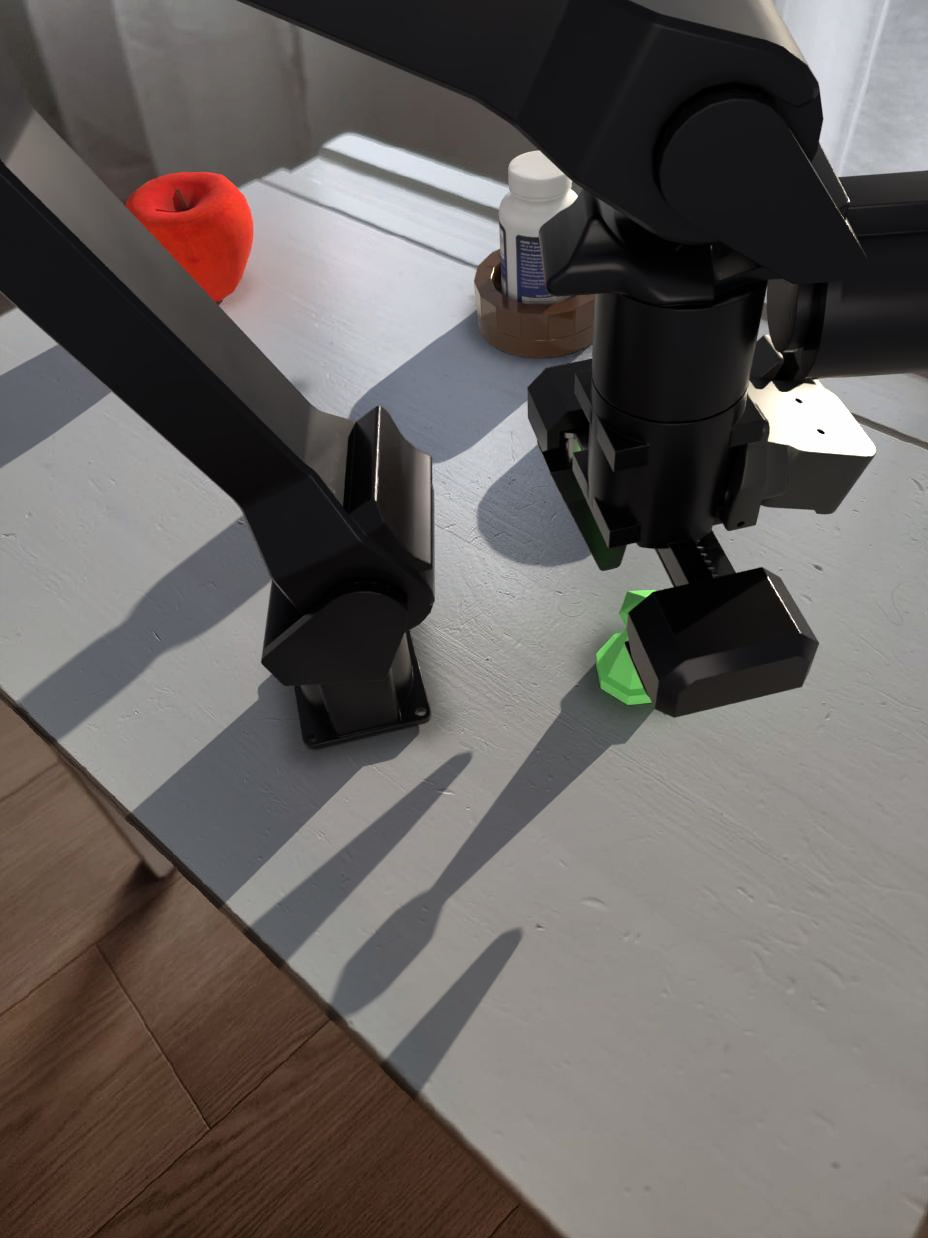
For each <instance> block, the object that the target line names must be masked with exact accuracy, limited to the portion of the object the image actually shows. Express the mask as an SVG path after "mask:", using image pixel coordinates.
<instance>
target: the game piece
mask: <svg viewBox="0 0 928 1238" xmlns="http://www.w3.org/2000/svg"><path fill="white" fill-rule="evenodd" d="M654 591H657V590H656V589H641V590H640V589H639V590H627V591H626V592H625V596H624V598H623V602H622V604H621V607H620V610H619V612H618V615H619V617H620V618H621V620H622V621H623V623H624V625H625V627H624V628H623V630H622V632H617V633H614V634H613V635H612V636H611V637H610V638H609V639H608V640H606V642H605V643H604V645H603V646H601V648H600V649H599V650H598V651H597V652H596V653H595V667H596V671H597V677H598V682H599V688H600V689H601V690H603V691H604V692H606V693H607V694H609V695H610V696H612V697H613V698H616V699H617V700H618V701H620V702H622V703H624V704H625V705H627V706H631V705H632V706H633V705H642V704H650V703H651V704H652V702H651V699H650V698H649V697H648V696H647V694H646V693H645V691H644V689H643V686H642V684H641V682H640V680H639V677H638V675H637V673H636V670H635V668H634V666H633V663H632V661H631V659H630V656H629V654H628V652H627V650H626V647H625V644H624V643H625V641H629V640H628V635H627V630H626V629H627V619H628V612H629V611H630V610H632V609H633V608H634V607H635V606H636V605H638V604H639V603H640V602H641V601H642V600H644V599H645V598H646V597H647V596H648V595H650V594H651V593H652V592H654Z"/></svg>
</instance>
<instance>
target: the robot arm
mask: <svg viewBox="0 0 928 1238" xmlns="http://www.w3.org/2000/svg"><path fill="white" fill-rule="evenodd" d="M235 1H236V2H239V3H241V4H244V5H246V6H247V7H251V8H253V9H256V10H258V11H261V12H262V13H265V14H267V15H270V16H272V17H275V18H277V19H279V20H282V21H284V22H286V23H289V24H291V25H294V26H296V27H297V28H301V29H303V30H305V31H308V32H310V33H312V34H315V35H317V36H320V37H322V38H324V39H327V40H329V41H331V42H334V43H336V44H339V45H341V46H344V47H346V48H348V49H351V50H353V51H355V52H358V53H360V54H363V55H365V56H367V57H370V58H372V59H374V60H377V61H379V62H380V63H381V62H382V63H384V64H387V65H389V66H391V67H394V68H395V69H398V70H401V71H403V72H406V73H408V74H410V75H413V76H415V77H417V78H420V79H422V80H424V81H427V82H430V83H431V84H434V85H436V86H439V87H440V88H444V89H446V90H449V91H451V92H453V93H456V94H457V95H460V96H463V97H465V98H467V99H469V100H472V101H473V102H476V103H477V104H479V105H481V106H482V107H484V108H485V109H486V110H488V111H490V112H492V113H493V114H494V115H496V116H497V117H499V118H501V120H503V121H505V122H506V123H508V124H509V125H511V127H513V128H515V129H516V131H518V132H519V133H520V134H521V135H522V136H523V137H524V138H525V139H526V140H527V141H528V142H530V144H532V145H533V147H535V148H536V149H537V151H540V152H541V153H542V154H544V155H545V156H546V157H547V158H548V159H549V160H550V161H551V162H552V163H553V164H554V165H555V166H556V167H557V168H558V169H560V170H561V171H562V172H563V173H564V174H565V175H566V176H567V177H568V178H569V179H570V180H571V181H572V183H574V184H575V185H576V186H578V187H580V188H581V190H580V192H579V194H578V197H577V199H576V200H575V201H574V202H573V203H572V204H571V205H570V206H569V207H567V208H565V209H563V210H561V211H560V212H558V213H557V214H556V215H555V216H553V217H552V218H551V219H550V220H548V221H547V222H546V223H544V224H543V225H542V226H541V227H540V229H539V242H540V250H541V257H542V265H543V272H544V280H545V287H546V290H547V292H548V293H549V294H550V295H552V296H555V297H562V296H576V295H590V294H595V303H594V327H593V343H592V355H591V358H587V359H583V360H577V361H573V362H568V363H563V364H558V365H552V366H548V367H545V368H544V369H543V370H542V371H541V372H540V373H539V374H538V375H537V377H535V378H534V380H533V381H532V382H531V383H530V384H529V385H528V386H527V387H526V397H527V399H526V400H527V403H526V405H527V419H528V422H529V424H530V426H531V429H532V431H533V433H534V435H535V438H536V444H537V447H538V449H539V452H540V454H541V456H542V459H543V461H544V463H545V466H546V468H547V470H548V472H549V474H550V477H551V478H552V481H553V482H554V485H555V486H556V488H557V490H558V492H559V494H560V496H561V498H562V500H563V502H564V504H565V505H566V508H567V509H568V512H569V513H570V516H571V517H572V519H573V521H574V523H575V525H576V527H577V529H578V531H579V533H580V534H581V535H580V536H581V537H582V539H583V541H584V542H585V545H586V546H587V549H588V550H589V553H590V554H591V556H592V559H593V560H594V563H595V564H596V566H597V568H598V569H599V570H600V572H605V571H610V570H615V569H617V568H619V567H620V566H621V565H622V562H623V559H624V556H625V553H626V550H627V547H628V546H629V545H632V544H636V546H637V547H639V548H642V549H650V550H651V549H652V550H654V551H655V553H656V555H657V557H658V559H659V561H660V563H661V566H662V567H663V569H664V571H665V573H666V575H667V577H668V579H669V582H670V584H671V585H672V586H671V587H667V588H664V589H659V590H656V591H654V592H652V593H651V594H650V595H648V596H647V597H646V598H645V599H644V600H642V601H641V602H640V603H639V604H638V605H636V606H635V607H634V608H633V609H632V610H630V611H629V612H628V619H627V629H626V630H627V635H628V640H629V641H625V643H624V644H625V647H626V650H627V652H628V654H629V656H630V659H631V661H632V663H633V666H634V668H635V670H636V673H637V675H638V677H639V680H640V682H641V684H642V686H643V689H644V691H645V693H646V694H647V696H648V697H649V698H650V699H651V702H652V703H651V704H652V707H653V709H654V710H655V711H658V712H660V713H662V715H663V716H669V717H671V718H674V719H675V718H680V717H684V716H688V715H692V714H696V713H699V712H705V711H708V710H709V711H710V710H713V709H716V708H721V707H726V706H729V705H734V704H738V703H741V702H746V701H750V700H754V699H759V698H762V697H767V696H771V695H775V694H779V693H784V692H788V691H791V690H796V689H800V688H802V687H803V686H804V684H805V682H806V680H807V678H808V675H809V674H810V671H811V668H812V665H813V662H814V660H815V657H816V654H817V651H818V648H819V646H820V642H819V640H818V638H817V636H816V635H815V633H814V632H813V630H812V629H811V627H810V625H809V623H808V622H807V620H806V618H805V616H804V615H803V613H802V611H801V610H800V608H799V606H798V605H797V603H796V601H795V600H794V598H793V596H792V594H791V593H790V591H789V590H788V587H787V586H786V584H785V583H784V581H783V580H782V578H781V577H780V576H779V575H777V574H775V573H773V572H772V571H770V570H768V569H766V568H765V567H763V566H759V567H756V568H750V569H746V570H742V571H738V572H736V570H735V568H734V566H733V565H732V563H731V561H730V560H729V557H728V556H727V554H726V552H725V550H724V549H723V546H722V544H721V543H720V542H719V540H718V538H717V536H716V534H715V532H714V531H713V527H715V526H718V525H723V527H724V529H725V530H726V532H733V531H737V530H741V529H746V528H750V527H754V526H757V524H758V523H757V522H758V518H759V515H760V510H761V507H763V508H772V509H787V510H804V511H813V512H815V513H816V514H817V515H832V514H834V513H835V512H837V509H838V508H839V507H840V505H841V504H842V503H843V501H844V500H845V498H846V497H847V496H848V494H849V493H850V491H851V490H852V489H853V488H854V486H855V485H856V483H857V481H858V480H859V479H860V478H861V476H862V474H863V473H864V472H865V471H866V469H867V468H868V466H870V464H871V462H872V461H873V460H874V458H875V457H876V455H877V452H878V450H877V446H876V444H875V443H874V442H873V440H872V439H871V437H870V436H869V435H868V434H867V432H866V431H865V430H864V428H863V427H862V426H861V425H860V423H859V421H858V420H857V419H856V418H855V417H854V415H853V414H852V413H851V411H850V410H849V409H848V408H847V406H846V405H845V404H844V403H843V401H842V399H840V397H839V396H837V395H836V393H834V392H833V391H832V390H830V389H828V388H826V387H825V386H824V385H823V384H822V383H821V381H820V380H829V379H830V380H831V379H845V378H859V377H871V376H872V377H875V376H890V375H907V374H918V373H928V169H927V170H915V171H914V170H913V171H901V172H888V173H874V174H873V173H872V174H860V175H849V176H838V175H837V173H836V171H835V169H834V167H833V165H832V163H831V161H830V160H829V158H828V155H827V154H826V152H825V150H824V148H823V146H822V144H821V142H820V138H821V134H822V130H823V129H822V128H823V124H824V112H823V111H824V110H823V104H822V97H821V96H822V95H821V89H820V84H819V83H820V82H819V81H818V79H817V77H816V75H815V74H814V72H813V70H812V69H811V67H810V65H809V63H808V61H807V59H806V58H805V55H804V54H803V52H802V51H801V49H800V47H799V45H798V43H797V42H796V40H795V38H794V37H793V35H792V33H791V31H790V30H789V28H788V26H787V24H786V23H785V21H784V19H783V17H782V15H781V13H780V11H779V9H777V7H776V4H775V3H774V1H773V0H235ZM0 294H1V295H2V296H3V297H4V298H6V299H7V300H8V301H9V302H10V303H11V304H12V305H13V306H14V307H16V308H17V309H18V310H19V311H20V312H21V313H22V314H23V315H24V316H25V317H27V318H28V319H29V320H30V321H32V323H33V324H35V326H37V327H38V328H39V329H40V330H42V331H43V333H45V334H46V335H47V336H48V337H49V338H50V339H52V340H53V341H54V342H55V343H56V344H57V345H59V347H61V348H62V349H63V350H64V351H65V352H66V353H68V355H70V356H71V357H72V358H73V359H74V360H75V361H76V362H78V363H79V364H80V365H81V366H82V367H83V368H84V369H86V371H88V372H89V374H91V375H92V376H93V377H95V378H96V379H97V380H98V381H99V382H100V383H101V384H102V385H103V386H104V387H106V388H107V389H108V390H109V391H110V392H111V393H112V394H113V395H115V396H116V397H117V398H118V400H120V401H121V402H123V403H124V405H126V406H127V407H128V408H129V409H130V410H131V411H133V413H135V414H136V415H137V416H138V417H139V418H140V419H141V420H142V421H144V422H145V423H146V424H147V425H148V426H149V427H151V428H152V429H153V430H154V431H155V432H156V433H157V434H158V435H159V436H161V438H162V439H164V440H165V441H166V442H167V443H169V445H170V446H172V447H173V448H174V449H175V450H176V451H177V452H178V453H180V454H181V455H182V456H183V457H184V458H185V459H187V460H188V461H189V462H190V463H191V464H192V465H193V466H194V467H195V468H197V469H198V471H200V472H201V473H202V474H203V475H204V476H206V477H207V479H209V481H211V482H213V484H215V485H216V487H218V488H219V489H220V490H221V491H223V492H224V493H225V495H227V496H228V497H229V498H230V499H231V500H232V501H233V502H234V503H235V504H236V506H237V507H238V508H239V510H240V512H242V516H243V518H244V520H245V523H246V525H247V527H248V529H249V531H250V533H251V536H252V538H253V541H254V543H255V545H256V547H257V549H258V551H259V554H260V557H261V559H262V560H263V563H264V565H265V568H266V571H267V572H268V575H269V577H270V578H271V583H270V590H269V597H268V604H267V613H266V621H265V628H264V635H263V636H264V637H263V644H262V650H261V660H260V664H261V665H262V666H263V667H264V668H265V669H266V670H267V671H268V672H269V673H270V674H271V675H272V676H273V677H274V678H275V679H276V680H277V681H278V682H279V683H280V684H281V685H282V686H285V687H292V686H293V687H294V695H295V701H296V706H297V713H298V719H299V725H300V731H301V738H302V742H303V744H304V747H305V748H306V749H307V750H310V751H316V750H320V749H324V748H329V747H332V746H337V745H341V744H346V743H349V742H350V743H351V742H354V741H358V740H362V739H367V738H371V737H374V736H380V735H384V734H388V733H392V732H396V731H399V730H404V729H409V728H412V727H416V726H422V725H425V724H427V723H429V722H430V721H431V719H432V709H431V705H430V701H429V697H428V694H427V689H426V685H425V682H424V678H423V674H422V670H421V666H420V663H419V659H418V655H417V652H416V647H415V644H414V639H413V635H412V631H411V630H413V629H414V628H416V627H418V626H420V625H421V624H422V623H423V622H424V621H425V620H426V618H427V617H428V616H429V615H430V614H431V613H432V609H433V607H434V604H435V602H436V557H435V556H436V554H435V553H436V552H435V551H436V549H435V547H436V545H435V544H436V541H435V539H436V538H435V534H436V533H435V528H436V527H435V525H436V524H435V489H434V484H433V456H431V455H429V454H428V453H426V452H424V451H422V450H420V449H419V448H416V446H414V445H413V444H412V443H411V442H409V440H407V439H406V438H405V436H404V435H403V433H402V432H401V431H400V429H399V428H398V426H397V423H395V421H394V419H393V417H392V415H391V414H390V413H389V411H388V410H387V409H385V408H384V407H383V406H381V405H376V406H374V407H373V408H372V409H370V410H369V411H368V412H367V413H365V414H364V415H362V417H360V418H359V419H357V420H355V419H350V418H345V417H343V416H339V415H336V414H332V413H328V412H325V411H321V410H320V409H318V408H317V407H316V406H315V405H314V404H312V403H311V402H310V401H309V400H308V399H307V398H306V397H305V396H304V395H303V394H302V393H301V392H300V391H299V390H298V388H296V386H295V385H294V384H293V382H291V380H289V379H288V378H287V377H286V375H284V374H283V372H282V371H281V370H280V369H279V368H278V367H277V366H276V365H275V364H274V363H273V361H271V360H270V359H269V358H268V356H267V355H266V354H265V353H264V352H263V351H262V350H261V349H260V348H259V347H258V346H257V345H256V344H255V342H253V340H251V338H250V337H249V336H248V335H247V334H246V333H245V332H244V331H243V330H242V329H241V328H240V327H239V325H237V323H236V322H235V321H234V320H233V319H232V318H231V317H230V316H229V315H228V314H227V312H225V310H224V309H223V308H222V307H221V306H220V305H219V304H218V302H215V301H214V300H213V299H212V298H211V297H210V296H209V295H208V294H207V293H206V292H205V290H204V289H203V288H202V287H201V286H200V285H199V284H198V283H197V282H196V281H195V280H194V279H193V278H192V277H191V276H190V274H189V273H188V272H187V271H186V270H185V269H184V268H183V267H182V266H181V265H180V264H179V263H178V262H177V261H176V260H175V258H174V257H173V256H172V255H171V254H170V253H169V252H168V251H167V250H166V249H165V248H164V247H163V246H162V245H161V244H160V242H159V241H158V240H157V239H156V238H155V237H154V236H153V235H152V234H151V233H150V232H149V231H148V230H147V229H146V228H145V226H144V225H143V224H142V223H141V222H140V221H139V220H138V219H137V218H136V217H135V216H134V215H133V214H132V213H131V212H130V210H129V209H128V208H127V207H126V206H125V203H123V202H122V201H121V200H120V199H119V197H118V196H117V195H116V194H115V193H114V192H113V191H112V190H111V189H110V188H109V187H108V186H107V184H105V183H104V182H103V180H102V179H101V178H100V177H99V176H98V175H97V174H96V173H95V172H94V171H93V169H92V168H91V167H89V165H88V164H86V162H85V161H84V160H83V159H82V158H81V157H80V155H78V154H77V152H76V151H75V150H73V148H72V147H71V146H70V145H69V144H68V143H67V142H66V141H65V140H64V139H63V137H61V135H59V133H58V132H57V131H56V130H55V129H54V128H53V126H51V125H50V124H49V122H47V121H46V120H45V119H44V117H43V116H42V115H41V114H40V113H39V112H38V111H37V110H36V108H34V106H33V105H32V103H31V102H30V101H29V100H28V98H27V96H26V95H25V94H24V92H23V90H22V89H21V87H20V85H19V83H18V81H17V78H16V76H15V74H14V72H13V69H12V67H11V66H10V63H9V61H8V58H7V56H6V54H5V51H4V49H3V47H2V45H1V44H0ZM765 299H766V318H767V320H766V321H767V327H768V333H769V334H766V333H764V334H763V335H762V336H761V337H759V331H760V326H761V321H762V316H763V310H764V305H765ZM758 337H759V338H758ZM419 713H424V714H423V715H419ZM312 738H316V739H315V740H313V741H311V739H312Z"/></svg>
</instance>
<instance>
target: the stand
mask: <svg viewBox="0 0 928 1238" xmlns="http://www.w3.org/2000/svg"><path fill="white" fill-rule="evenodd" d="M473 287H474V288H473V289H474V303H475V307H476V315H477V327H478V329H479V332H480V334H481V336H482V337H483V338H484V339H485V341H486V342H488V343H489V344H490V345H491V346H493V347H494V348H496V349H498V350H499V351H502V352H504V353H507V354H510V355H513V356H517V357H522V358H527V359H528V358H530V359H549V358H551V359H552V358H557V357H563V356H567V355H570V354H573V353H576V352H579V351H581V350H583V349H585V348H587V347H589V346H590V345H593V327H594V303H595V294H590V295H577V296H575V297H573V298H571V299H569V300H567V301H562V302H557V303H552V304H525V303H521V302H518V301H514V300H511V299H508V298H507V297H505V296H504V295H503V294H502V282H501V258H500V248H498V249H496V250H494V251H492V252H491V253H489V254H488V255H487V257H485V258H484V259H483V260H482V261H481V262H480V263H479V264H478V265H477V267H476V270H475V275H474V279H473Z"/></svg>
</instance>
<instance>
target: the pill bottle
mask: <svg viewBox="0 0 928 1238" xmlns="http://www.w3.org/2000/svg"><path fill="white" fill-rule="evenodd" d="M507 174H508V175H507V176H508V177H507V179H508V183H507V184H508V190H509V191H508V192H507V193H506V194H505V195H504V196H503V197H502V199H501V201H500V203H499V208H498V230H499V232H498V233H499V249H500V258H501V282H502V294H503V295H504V296H505V297H507V298H508V299H511V300H514V301H518V302H521V303H525V304H552V303H557V302H562V301H567V300H569V299H571V298H573V297H575V296H562V297H555V296H552V295H550V294H549V293H548V292H547V290H546V287H545V280H544V272H543V265H542V257H541V250H540V242H539V229H540V227H541V226H542V225H543V224H544V223H546V222H547V221H548V220H550V219H551V218H552V217H553V216H555V215H556V214H557V213H558V212H560V211H561V210H563V209H565V208H567V207H569V206H570V205H571V204H572V203H573V202H574V201H575V200H576V199H577V197H578V196H579V194H577V193H576V192H575V191H574V190H573V189H572V186H573V185H572V183H573V181H571V180H570V179H569V178H568V177H567V176H566V175H565V174H564V173H563V172H562V171H561V170H560V169H558V168H557V167H556V166H555V165H554V164H553V163H552V162H551V161H550V160H549V159H548V158H547V157H546V156H545V155H544V154H542V153H541V152H540V151H539V150H532V151H527V152H525V153H521V154H519V155H516V156H515V157H514V158H513V159H512V160H511V161H510V162H509V164H508V168H507ZM576 296H577V295H576Z"/></svg>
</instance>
